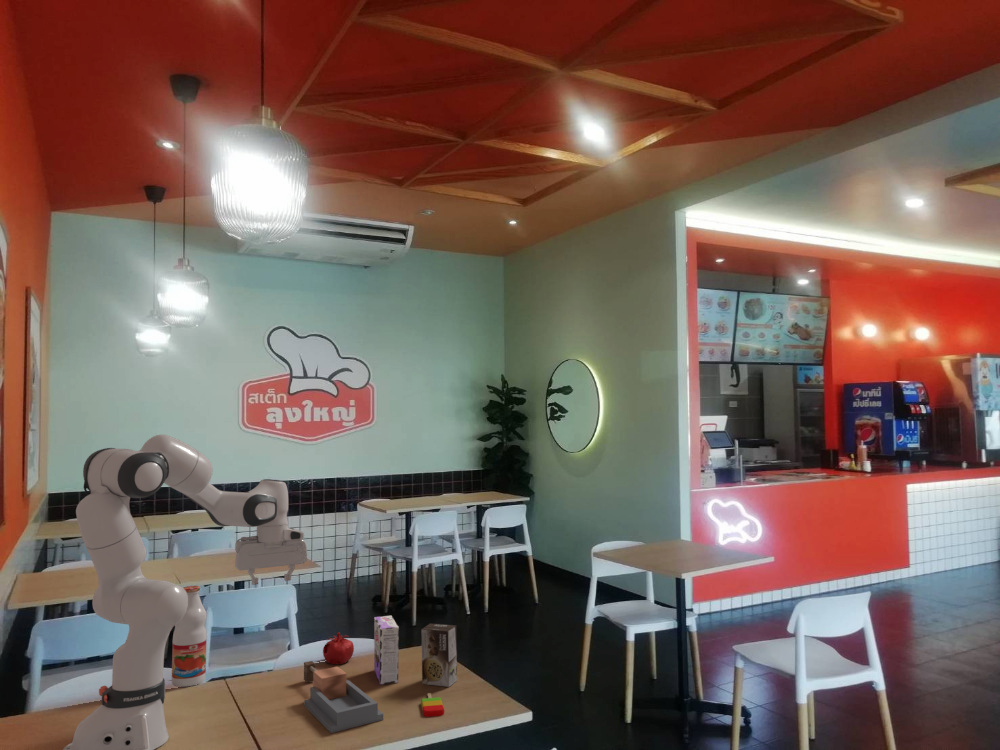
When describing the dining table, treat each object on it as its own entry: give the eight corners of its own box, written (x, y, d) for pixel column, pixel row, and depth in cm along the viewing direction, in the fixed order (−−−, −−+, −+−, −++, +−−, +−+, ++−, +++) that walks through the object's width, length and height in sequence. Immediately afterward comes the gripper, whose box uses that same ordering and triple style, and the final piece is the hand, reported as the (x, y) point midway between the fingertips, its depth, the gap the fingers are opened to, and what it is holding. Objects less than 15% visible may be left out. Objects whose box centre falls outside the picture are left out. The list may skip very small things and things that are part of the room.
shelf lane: (331, 733, 172) (331, 714, 172) (304, 705, 189) (304, 688, 189) (383, 719, 179) (383, 701, 180) (353, 694, 197) (353, 678, 197)
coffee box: (457, 680, 207) (457, 625, 209) (449, 687, 201) (448, 630, 203) (430, 676, 211) (430, 622, 212) (420, 684, 205) (420, 628, 206)
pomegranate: (357, 657, 230) (358, 628, 231) (347, 667, 220) (348, 637, 221) (329, 655, 232) (330, 627, 232) (317, 665, 222) (318, 635, 223)
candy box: (373, 670, 217) (373, 616, 219) (392, 667, 219) (392, 614, 220) (379, 685, 204) (379, 628, 205) (399, 682, 206) (399, 626, 207)
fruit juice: (203, 674, 215) (205, 582, 217) (207, 683, 207) (210, 588, 209) (169, 680, 210) (172, 586, 212) (173, 689, 202) (176, 592, 204)
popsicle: (423, 719, 181) (423, 711, 181) (419, 697, 195) (419, 690, 196) (444, 717, 182) (444, 709, 182) (438, 696, 196) (438, 689, 197)
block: (321, 705, 188) (321, 678, 188) (296, 681, 207) (296, 656, 207) (346, 699, 192) (346, 673, 192) (319, 676, 210) (319, 652, 211)
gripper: (238, 539, 195) (237, 588, 194) (309, 532, 207) (308, 579, 205) (233, 536, 201) (231, 585, 199) (302, 530, 212) (302, 576, 211)
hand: (271, 582), depth 203 cm, fingers open, 8 cm apart
